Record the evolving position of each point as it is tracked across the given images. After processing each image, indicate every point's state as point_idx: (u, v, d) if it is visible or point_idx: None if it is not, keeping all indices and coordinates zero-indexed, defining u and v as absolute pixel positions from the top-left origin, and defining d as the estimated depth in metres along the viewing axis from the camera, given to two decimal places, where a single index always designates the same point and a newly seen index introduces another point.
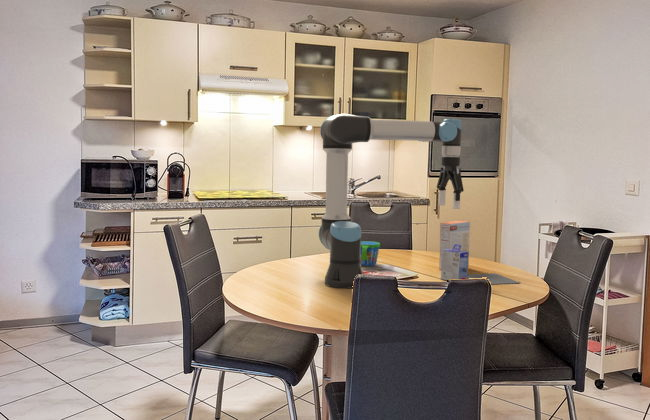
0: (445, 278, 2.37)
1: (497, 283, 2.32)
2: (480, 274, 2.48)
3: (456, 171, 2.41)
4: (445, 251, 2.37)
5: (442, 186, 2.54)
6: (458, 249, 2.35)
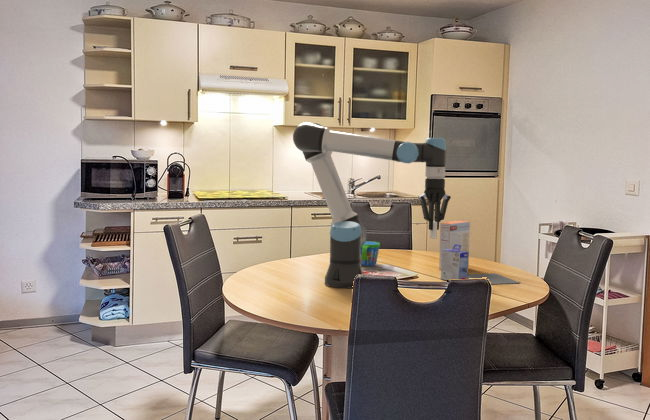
0: (445, 278, 2.37)
1: (497, 283, 2.32)
2: (480, 274, 2.48)
3: (419, 199, 2.30)
4: (445, 251, 2.37)
5: (435, 214, 2.32)
6: (458, 249, 2.35)
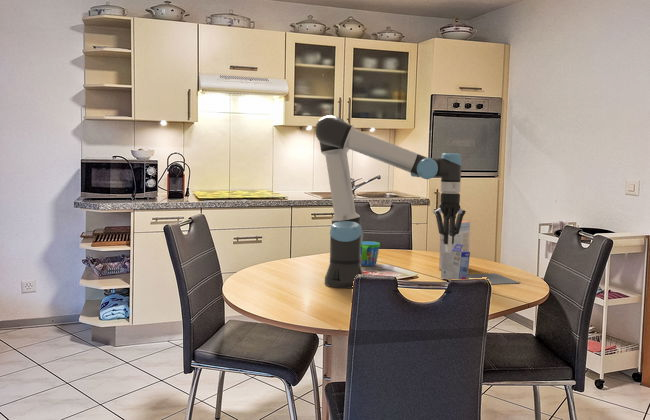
0: (445, 277, 2.37)
1: (497, 283, 2.32)
2: (480, 274, 2.48)
3: (435, 214, 2.32)
4: None
5: (450, 229, 2.34)
6: (459, 249, 2.35)
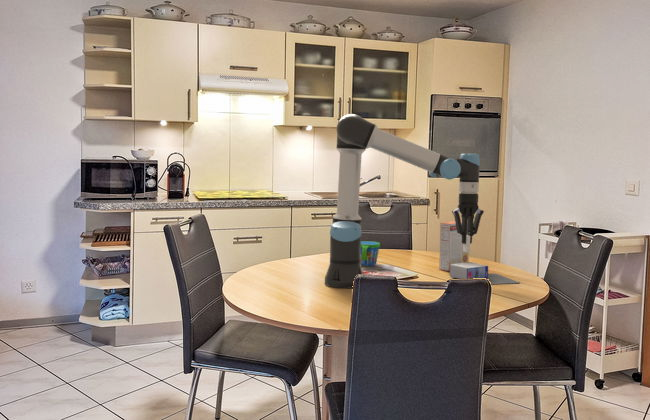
0: (455, 265, 2.40)
1: (497, 283, 2.32)
2: None
3: (453, 213, 2.34)
4: None
5: (468, 228, 2.36)
6: None
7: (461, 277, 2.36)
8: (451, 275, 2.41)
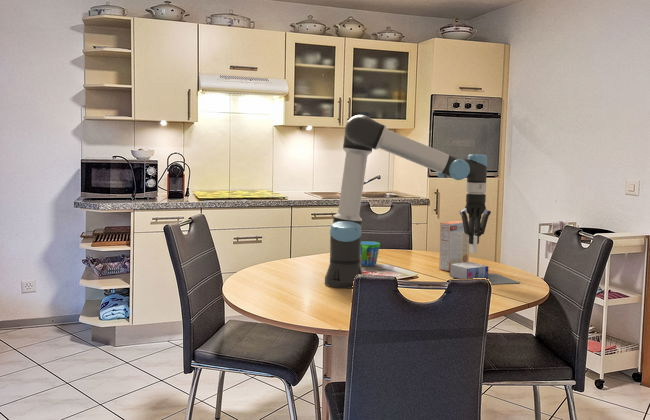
0: (456, 265, 2.39)
1: (497, 283, 2.32)
2: None
3: None
4: None
5: (475, 229, 2.37)
6: None
7: (461, 277, 2.36)
8: (451, 275, 2.41)
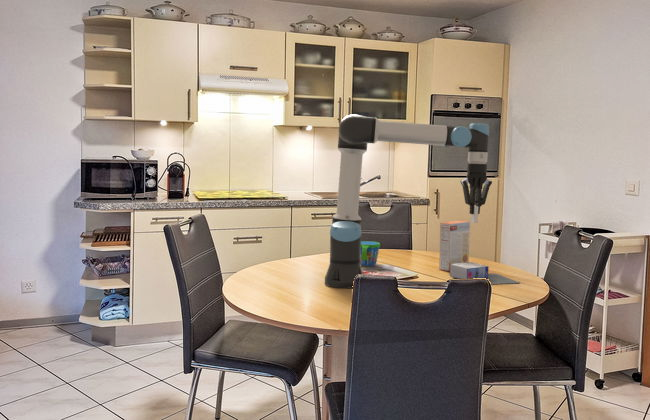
0: (456, 265, 2.39)
1: (497, 283, 2.32)
2: None
3: None
4: None
5: (476, 199, 2.36)
6: None
7: (461, 277, 2.36)
8: (451, 275, 2.41)
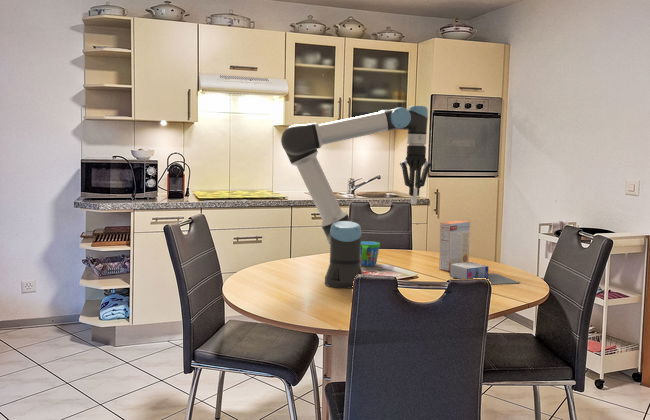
0: (456, 265, 2.39)
1: (497, 283, 2.32)
2: None
3: (401, 165, 2.37)
4: None
5: (415, 181, 2.39)
6: None
7: (461, 277, 2.36)
8: (451, 275, 2.41)
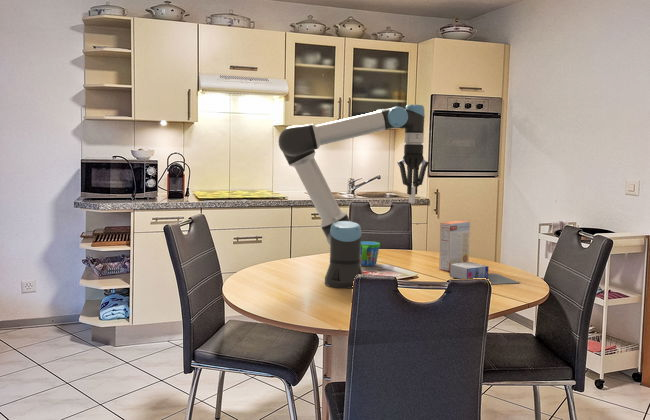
0: (456, 265, 2.39)
1: (497, 283, 2.32)
2: None
3: (398, 164, 2.37)
4: None
5: (413, 180, 2.39)
6: None
7: (461, 277, 2.36)
8: (451, 275, 2.41)
